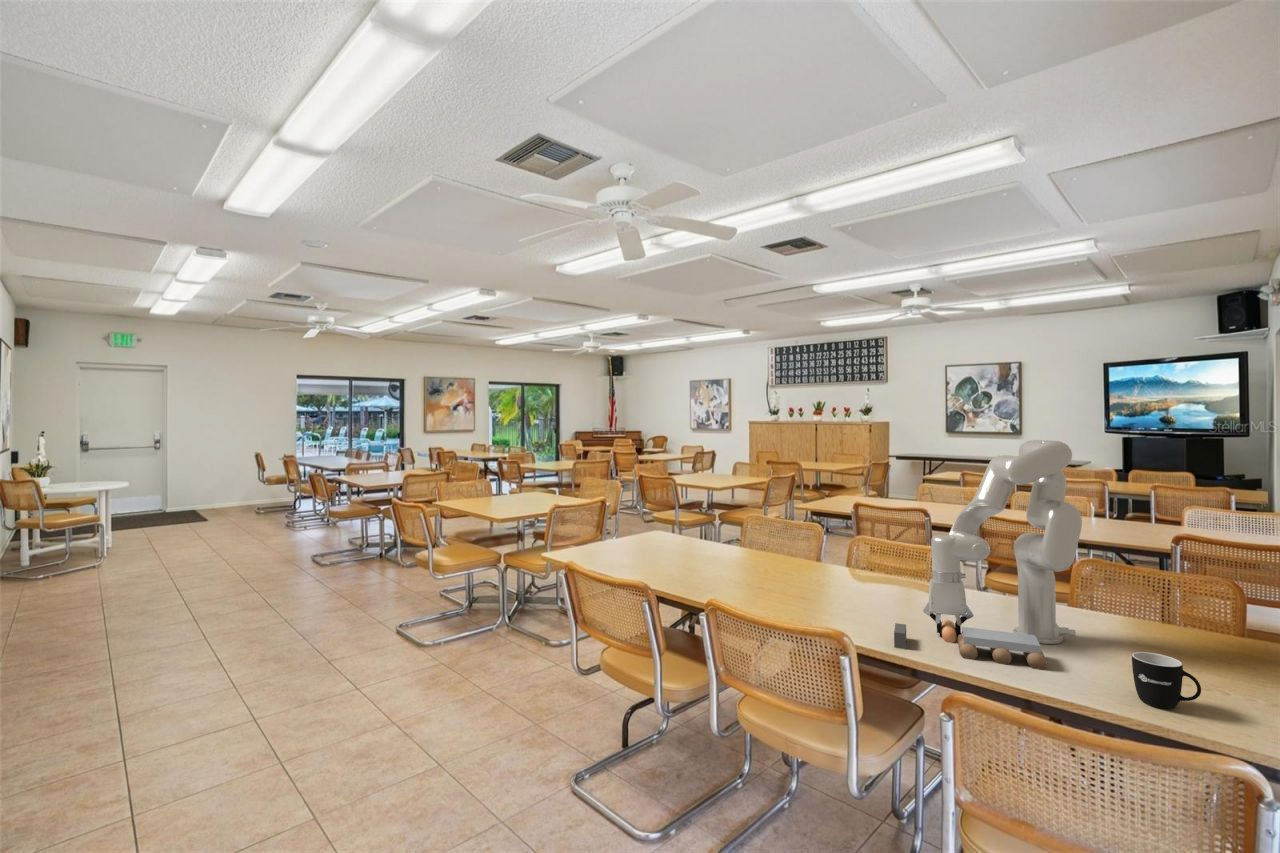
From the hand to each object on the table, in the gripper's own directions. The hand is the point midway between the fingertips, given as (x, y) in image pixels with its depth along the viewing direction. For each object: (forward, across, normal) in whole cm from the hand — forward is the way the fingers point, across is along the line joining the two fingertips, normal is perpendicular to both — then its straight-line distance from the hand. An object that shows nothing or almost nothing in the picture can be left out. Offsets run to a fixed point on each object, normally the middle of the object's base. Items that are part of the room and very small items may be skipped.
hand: (948, 635), depth 181 cm
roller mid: (-1, -12, +11) cm, 17 cm away
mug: (+2, -44, +28) cm, 52 cm away
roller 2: (-1, -4, +11) cm, 12 cm away
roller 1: (0, 0, 0) cm, 0 cm away
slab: (-3, -12, +11) cm, 17 cm away
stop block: (+1, +13, +11) cm, 17 cm away
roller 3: (-1, -20, +11) cm, 23 cm away
